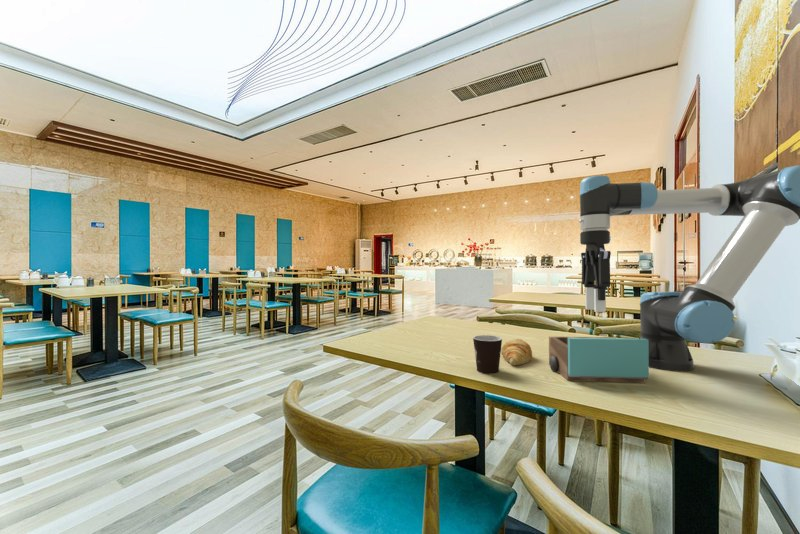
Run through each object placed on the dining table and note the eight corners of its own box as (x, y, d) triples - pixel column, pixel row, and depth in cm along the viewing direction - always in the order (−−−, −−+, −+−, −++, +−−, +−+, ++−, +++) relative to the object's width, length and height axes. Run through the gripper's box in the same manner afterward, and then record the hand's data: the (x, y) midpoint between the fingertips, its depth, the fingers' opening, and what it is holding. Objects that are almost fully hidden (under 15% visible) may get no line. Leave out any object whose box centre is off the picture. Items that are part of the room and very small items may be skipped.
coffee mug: (498, 376, 100) (498, 342, 100) (469, 372, 105) (469, 339, 105) (507, 366, 110) (507, 335, 110) (480, 362, 115) (480, 332, 115)
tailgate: (645, 377, 94) (645, 338, 94) (648, 379, 92) (648, 339, 92) (567, 376, 96) (567, 337, 96) (570, 377, 95) (569, 338, 95)
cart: (619, 365, 110) (618, 337, 110) (649, 382, 94) (649, 349, 94) (544, 364, 112) (544, 336, 112) (562, 380, 97) (562, 348, 97)
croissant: (523, 379, 108) (536, 358, 107) (493, 361, 112) (505, 341, 110) (526, 360, 128) (537, 342, 126) (501, 346, 131) (511, 328, 130)
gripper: (569, 233, 111) (569, 306, 111) (595, 227, 92) (596, 314, 93) (594, 233, 110) (594, 306, 110) (625, 226, 92) (625, 315, 92)
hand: (595, 310), depth 101 cm, fingers open, 5 cm apart
